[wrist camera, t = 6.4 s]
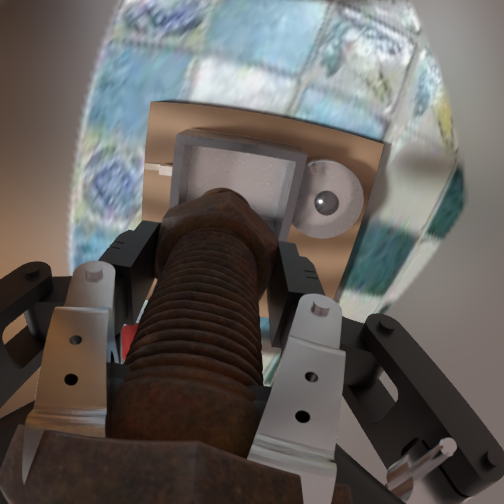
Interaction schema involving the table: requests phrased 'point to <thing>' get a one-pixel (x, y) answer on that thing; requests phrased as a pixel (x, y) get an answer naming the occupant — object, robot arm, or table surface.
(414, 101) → the table surface
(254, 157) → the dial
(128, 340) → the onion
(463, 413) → the robot arm
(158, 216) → the wooden cutting board
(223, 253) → the bolt
